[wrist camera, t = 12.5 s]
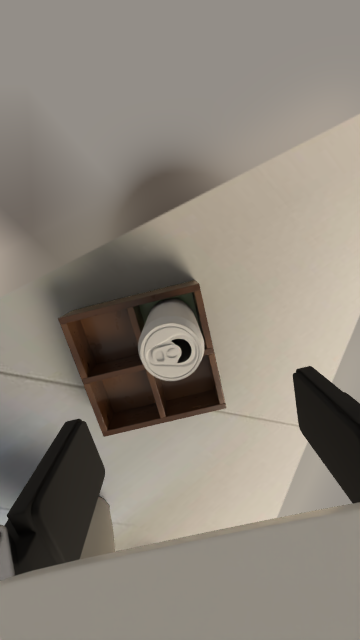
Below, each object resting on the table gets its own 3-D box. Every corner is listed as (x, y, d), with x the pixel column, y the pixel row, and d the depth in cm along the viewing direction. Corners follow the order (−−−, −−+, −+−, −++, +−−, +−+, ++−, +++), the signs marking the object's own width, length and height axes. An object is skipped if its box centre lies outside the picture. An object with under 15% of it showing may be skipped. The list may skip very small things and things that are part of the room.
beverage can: (199, 335, 34) (213, 376, 23) (155, 346, 34) (147, 392, 23) (188, 292, 33) (198, 311, 21) (142, 303, 33) (126, 329, 21)
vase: (48, 473, 40) (-135, 798, 16) (135, 479, 41) (84, 792, 17) (49, 537, 44) (-99, 881, 20) (129, 541, 45) (81, 873, 21)
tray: (73, 310, 34) (57, 318, 29) (195, 279, 33) (199, 283, 29) (111, 414, 38) (103, 437, 33) (219, 389, 38) (226, 408, 33)
